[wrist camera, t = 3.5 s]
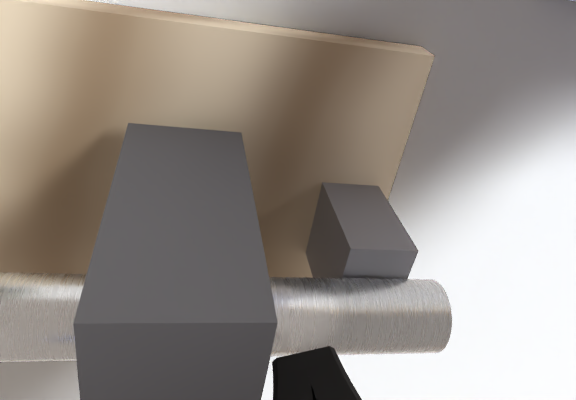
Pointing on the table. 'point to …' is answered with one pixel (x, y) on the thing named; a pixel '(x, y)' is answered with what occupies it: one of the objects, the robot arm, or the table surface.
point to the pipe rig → (259, 153)
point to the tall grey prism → (177, 275)
